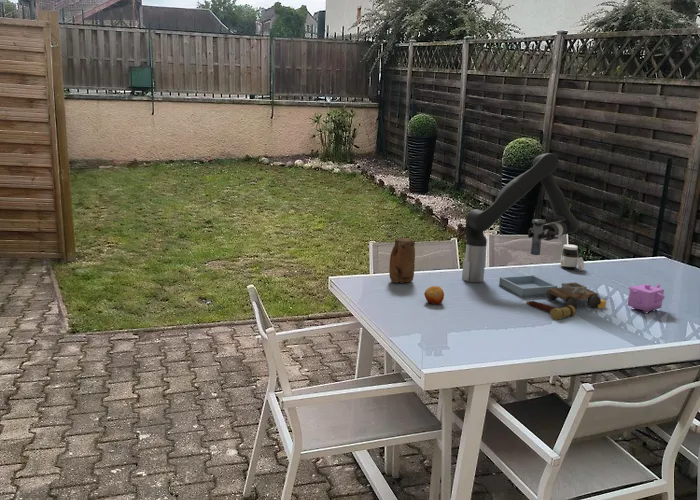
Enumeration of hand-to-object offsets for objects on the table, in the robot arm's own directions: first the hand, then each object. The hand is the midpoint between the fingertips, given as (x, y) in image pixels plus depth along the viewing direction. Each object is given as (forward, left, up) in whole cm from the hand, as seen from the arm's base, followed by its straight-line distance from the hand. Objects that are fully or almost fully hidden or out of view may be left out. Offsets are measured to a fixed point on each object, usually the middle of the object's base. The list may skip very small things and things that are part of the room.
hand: (534, 236), depth 274 cm
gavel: (-7, -23, -27) cm, 36 cm away
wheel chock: (+19, -24, -26) cm, 40 cm away
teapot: (+35, -31, -26) cm, 54 cm away
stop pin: (+2, +1, -8) cm, 9 cm away
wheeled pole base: (+10, -17, -26) cm, 33 cm away
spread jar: (+48, +32, -26) cm, 63 cm away
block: (-49, +29, -26) cm, 62 cm away
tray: (+2, +4, -26) cm, 26 cm away
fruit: (-48, -3, -26) cm, 55 cm away
